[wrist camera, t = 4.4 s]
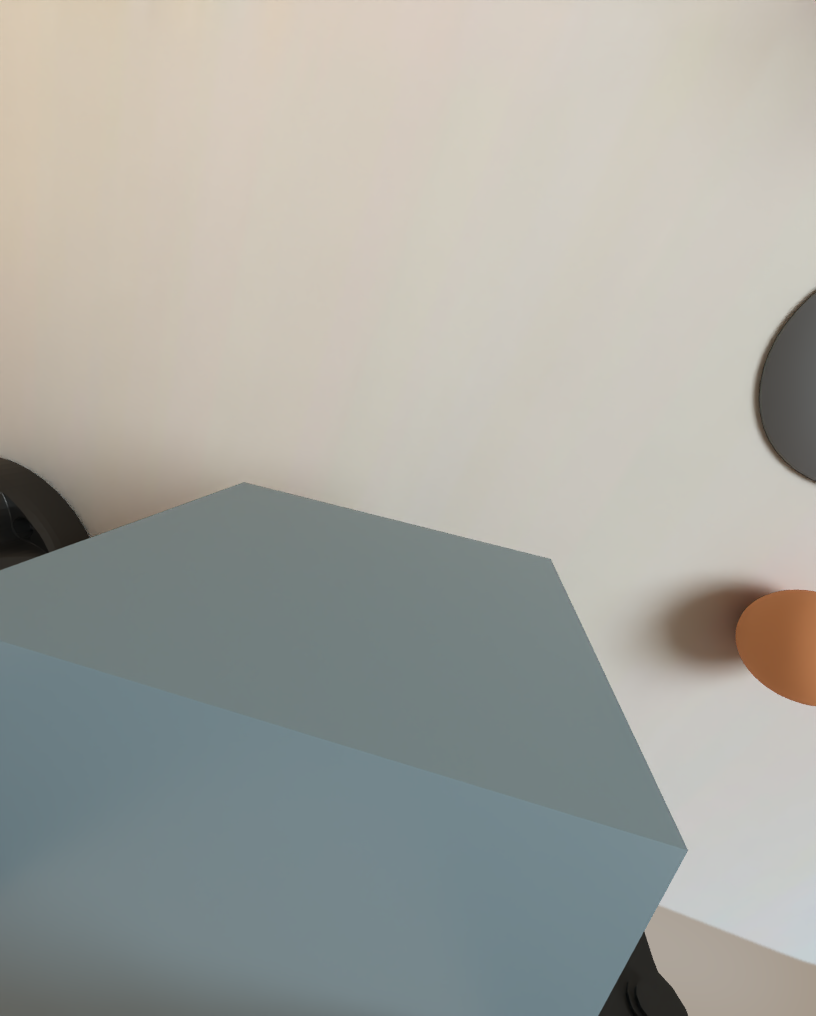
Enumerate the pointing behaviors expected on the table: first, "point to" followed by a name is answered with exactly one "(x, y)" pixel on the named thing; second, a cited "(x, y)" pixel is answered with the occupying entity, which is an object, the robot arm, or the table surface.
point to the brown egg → (781, 643)
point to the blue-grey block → (312, 775)
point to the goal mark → (792, 391)
